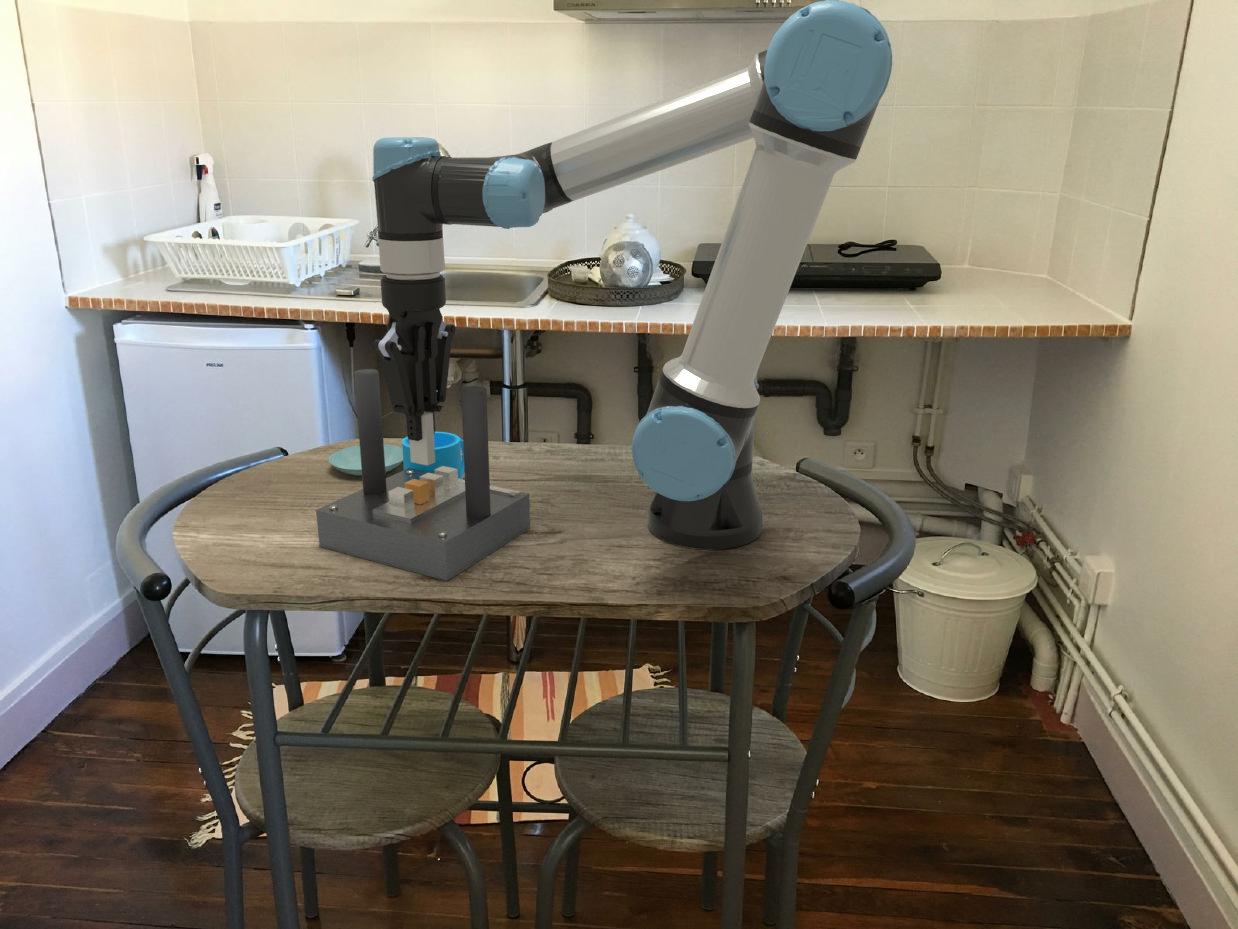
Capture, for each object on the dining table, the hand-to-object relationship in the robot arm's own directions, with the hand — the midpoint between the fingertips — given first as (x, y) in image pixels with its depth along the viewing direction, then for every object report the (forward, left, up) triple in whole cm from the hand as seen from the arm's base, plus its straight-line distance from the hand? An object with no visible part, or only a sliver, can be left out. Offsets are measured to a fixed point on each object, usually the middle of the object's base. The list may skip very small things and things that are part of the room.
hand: (423, 461), depth 127 cm
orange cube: (0, +2, -5) cm, 5 cm away
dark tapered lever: (-8, 0, -5) cm, 10 cm away
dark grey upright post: (+8, 0, -5) cm, 10 cm away
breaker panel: (0, 0, -10) cm, 10 cm away
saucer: (+24, -17, -11) cm, 32 cm away
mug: (+9, -15, -11) cm, 21 cm away
